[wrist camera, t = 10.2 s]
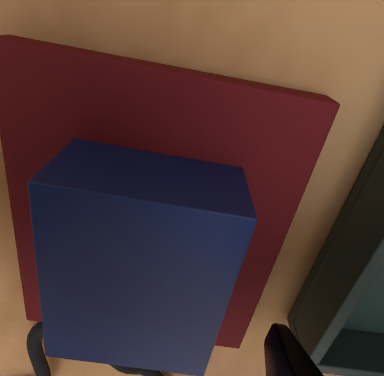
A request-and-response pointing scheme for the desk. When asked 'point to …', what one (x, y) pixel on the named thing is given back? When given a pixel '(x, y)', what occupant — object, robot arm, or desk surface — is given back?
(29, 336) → the cable
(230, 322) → the dark red flat slab
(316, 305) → the dark green tray
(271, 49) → the desk surface
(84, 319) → the blue rectangular block
